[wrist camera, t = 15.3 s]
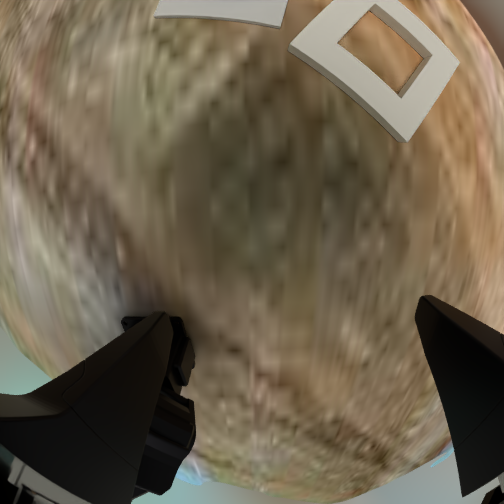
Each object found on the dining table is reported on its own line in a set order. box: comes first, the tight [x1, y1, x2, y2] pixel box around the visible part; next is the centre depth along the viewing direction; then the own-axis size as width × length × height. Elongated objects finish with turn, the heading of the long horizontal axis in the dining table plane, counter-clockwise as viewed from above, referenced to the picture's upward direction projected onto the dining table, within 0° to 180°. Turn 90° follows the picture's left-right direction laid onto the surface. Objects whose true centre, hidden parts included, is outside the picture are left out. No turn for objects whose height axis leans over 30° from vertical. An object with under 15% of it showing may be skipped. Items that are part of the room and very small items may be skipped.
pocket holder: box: [287, 0, 460, 142], centre depth 14 cm, size 11×11×2 cm
